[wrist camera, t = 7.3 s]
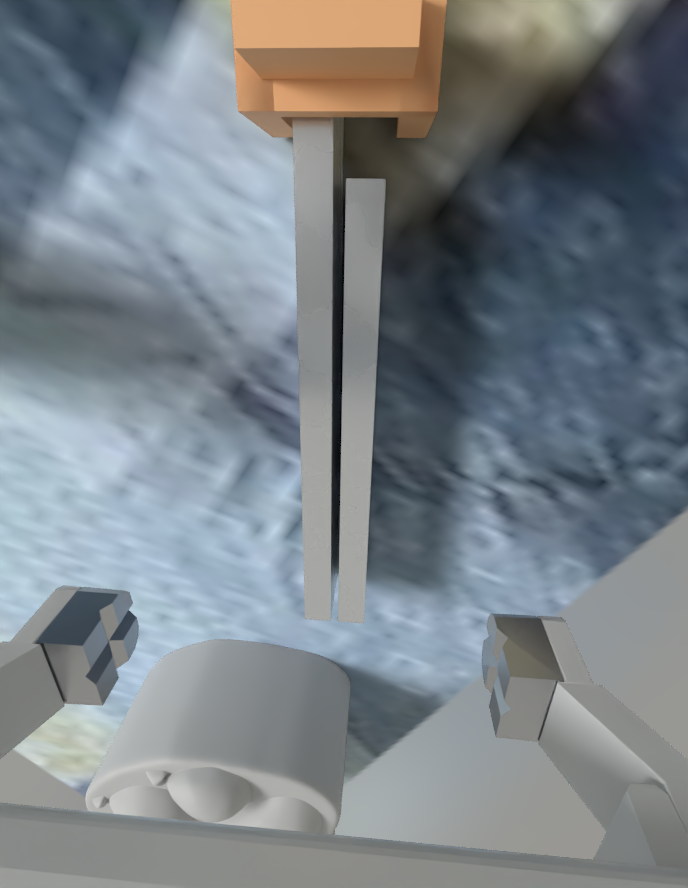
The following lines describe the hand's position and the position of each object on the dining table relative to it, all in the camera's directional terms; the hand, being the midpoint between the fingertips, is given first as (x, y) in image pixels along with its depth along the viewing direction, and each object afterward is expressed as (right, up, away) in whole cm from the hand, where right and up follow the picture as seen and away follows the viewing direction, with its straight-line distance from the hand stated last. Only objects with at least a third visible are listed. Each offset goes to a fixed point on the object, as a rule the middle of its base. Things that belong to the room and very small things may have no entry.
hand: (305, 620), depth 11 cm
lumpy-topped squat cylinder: (-5, -12, +20) cm, 24 cm away
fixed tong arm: (0, +8, +9) cm, 13 cm away
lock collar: (+1, +16, +6) cm, 17 cm away
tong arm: (+2, +5, +11) cm, 12 cm away
